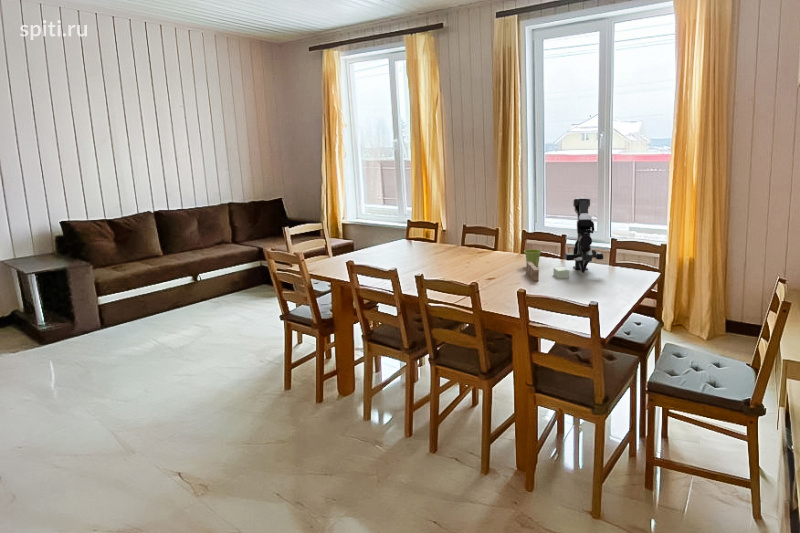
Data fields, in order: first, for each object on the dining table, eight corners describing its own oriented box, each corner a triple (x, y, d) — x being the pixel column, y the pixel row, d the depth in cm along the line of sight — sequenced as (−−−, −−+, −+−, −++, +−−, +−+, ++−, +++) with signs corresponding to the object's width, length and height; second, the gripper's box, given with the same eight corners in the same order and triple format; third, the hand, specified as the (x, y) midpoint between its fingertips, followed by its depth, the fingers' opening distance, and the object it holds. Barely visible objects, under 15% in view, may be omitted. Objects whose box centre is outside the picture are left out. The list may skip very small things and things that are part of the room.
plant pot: (520, 266, 319) (520, 251, 317) (531, 263, 325) (531, 248, 322) (533, 269, 312) (533, 253, 310) (544, 266, 317) (545, 251, 315)
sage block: (553, 275, 299) (553, 267, 298) (564, 274, 299) (565, 267, 298) (557, 278, 292) (558, 270, 291) (569, 277, 292) (569, 270, 291)
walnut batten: (526, 272, 305) (526, 261, 303) (530, 272, 305) (531, 261, 303) (533, 281, 287) (533, 269, 286) (538, 281, 287) (538, 269, 286)
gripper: (570, 246, 284) (568, 277, 287) (607, 245, 283) (606, 275, 287) (564, 242, 295) (563, 271, 298) (600, 241, 294) (598, 270, 298)
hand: (582, 272), depth 295 cm, fingers closed
